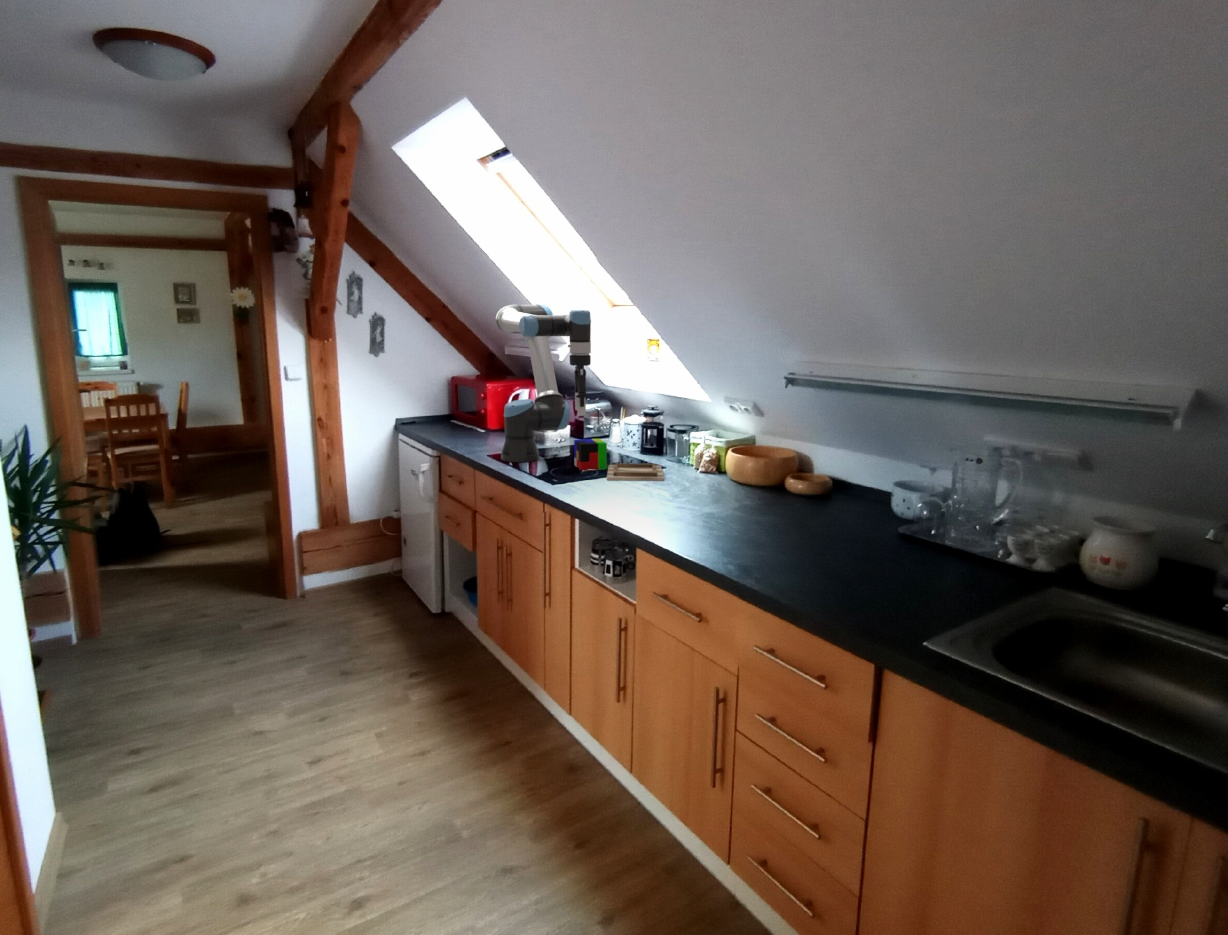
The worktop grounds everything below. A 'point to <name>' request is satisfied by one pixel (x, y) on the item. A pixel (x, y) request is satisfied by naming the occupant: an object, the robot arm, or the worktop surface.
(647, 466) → the locating board
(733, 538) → the worktop surface
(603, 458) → the puzzle toy
